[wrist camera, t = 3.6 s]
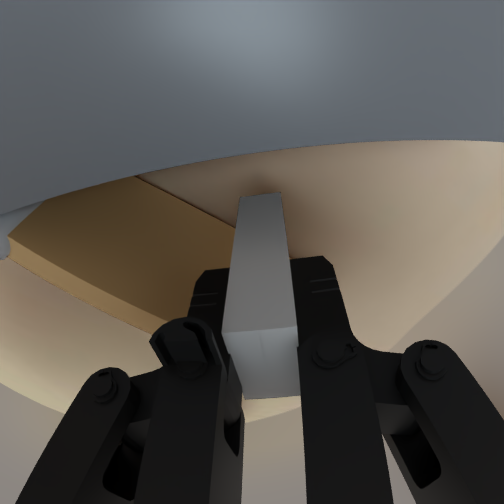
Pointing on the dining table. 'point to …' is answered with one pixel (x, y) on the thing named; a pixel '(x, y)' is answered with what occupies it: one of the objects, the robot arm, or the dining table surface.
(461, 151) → the dining table surface
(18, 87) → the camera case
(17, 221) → the side door
